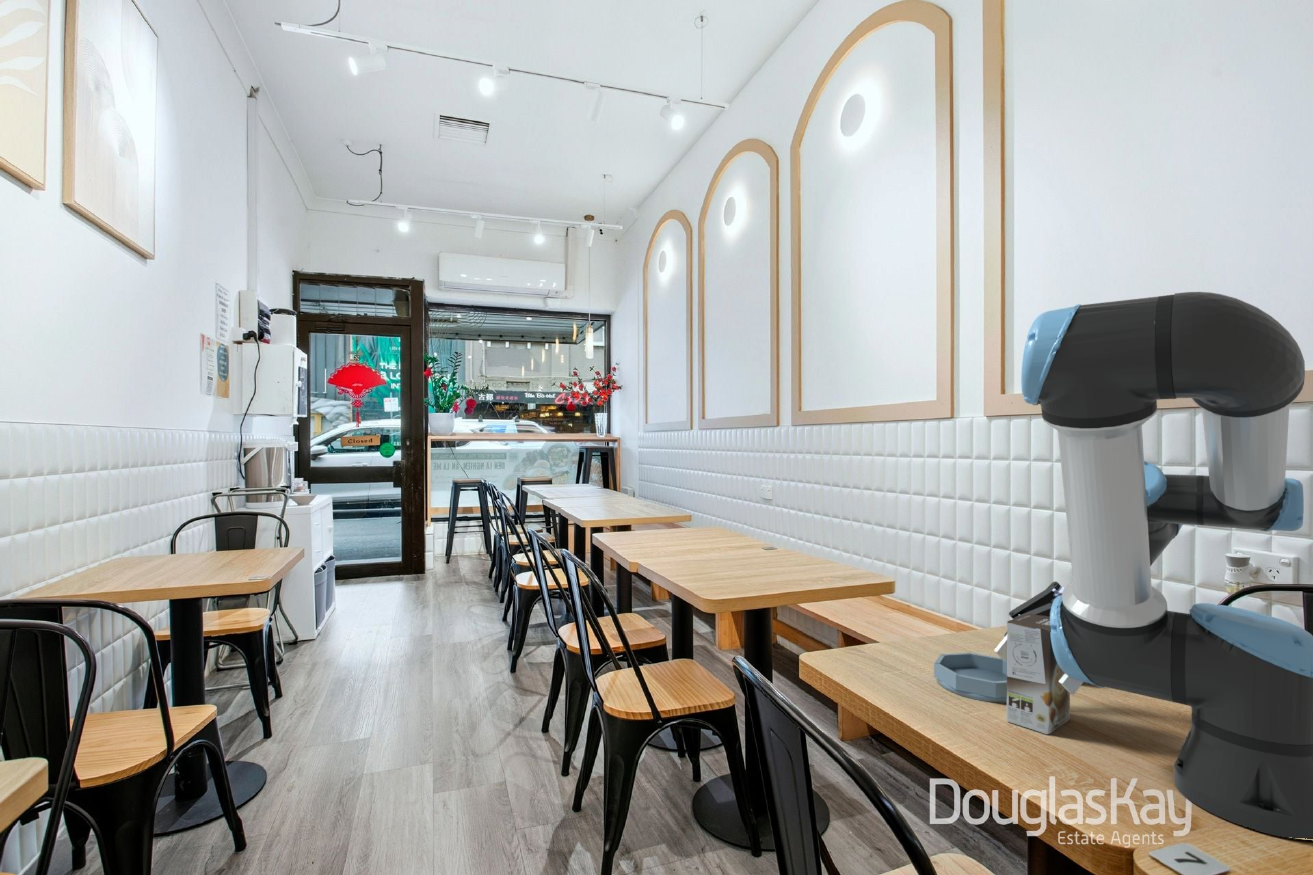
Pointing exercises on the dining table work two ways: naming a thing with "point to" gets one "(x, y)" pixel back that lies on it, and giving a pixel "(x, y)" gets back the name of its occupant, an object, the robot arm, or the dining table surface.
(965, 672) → the slate bowl
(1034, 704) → the coffee box
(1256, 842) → the dining table surface
